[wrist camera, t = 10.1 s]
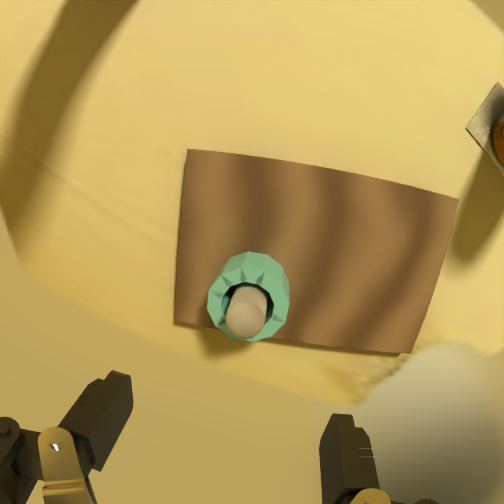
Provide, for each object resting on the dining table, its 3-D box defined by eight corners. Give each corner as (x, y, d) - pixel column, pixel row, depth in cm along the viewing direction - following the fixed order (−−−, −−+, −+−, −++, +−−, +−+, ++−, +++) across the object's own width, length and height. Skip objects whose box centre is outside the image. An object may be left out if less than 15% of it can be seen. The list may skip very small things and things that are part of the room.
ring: (214, 310, 30) (204, 333, 26) (221, 247, 28) (211, 262, 24) (281, 322, 29) (280, 346, 25) (293, 258, 27) (295, 276, 24)
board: (179, 313, 32) (146, 364, 23) (192, 149, 27) (153, 148, 18) (406, 346, 31) (434, 400, 22) (450, 196, 26) (504, 215, 17)
